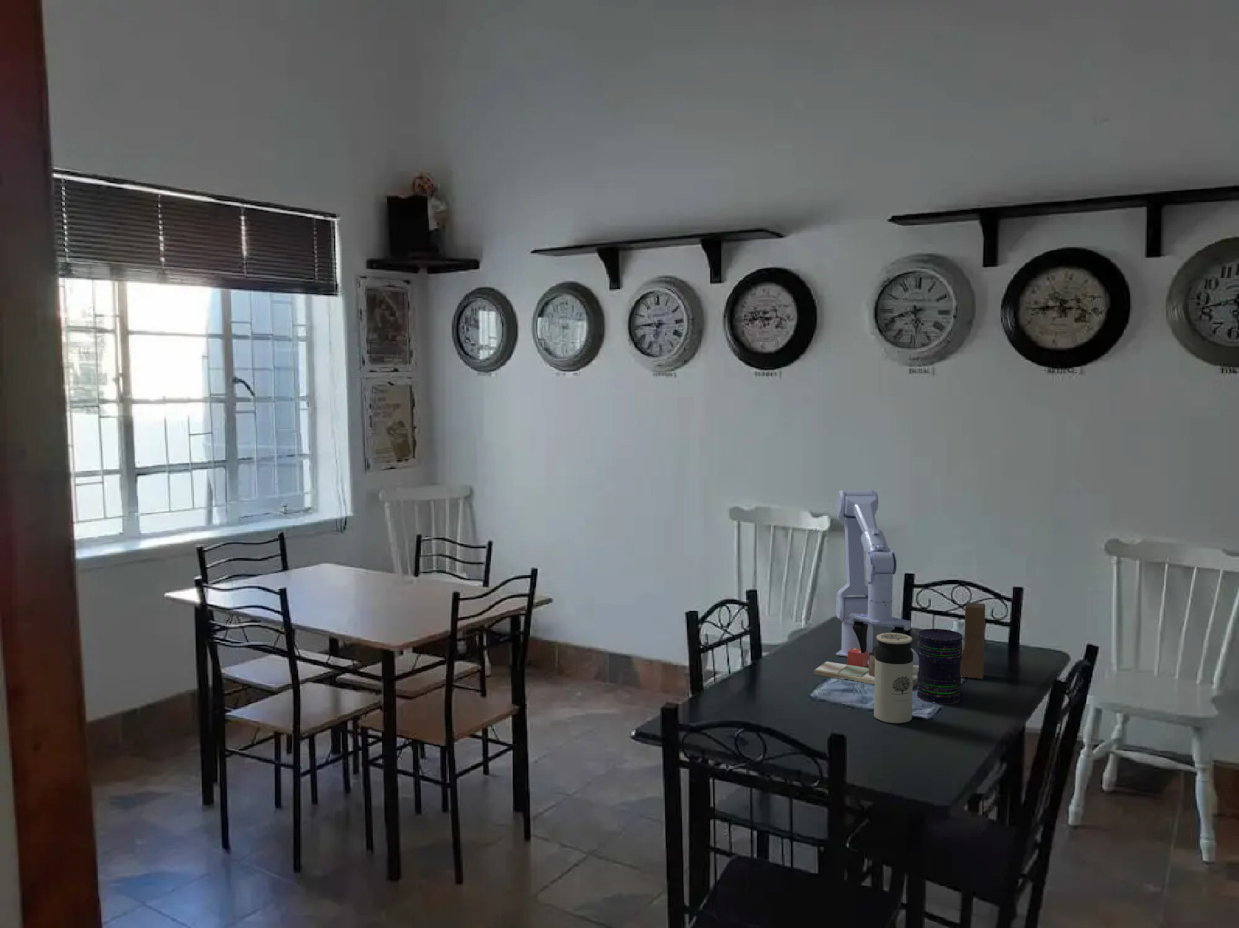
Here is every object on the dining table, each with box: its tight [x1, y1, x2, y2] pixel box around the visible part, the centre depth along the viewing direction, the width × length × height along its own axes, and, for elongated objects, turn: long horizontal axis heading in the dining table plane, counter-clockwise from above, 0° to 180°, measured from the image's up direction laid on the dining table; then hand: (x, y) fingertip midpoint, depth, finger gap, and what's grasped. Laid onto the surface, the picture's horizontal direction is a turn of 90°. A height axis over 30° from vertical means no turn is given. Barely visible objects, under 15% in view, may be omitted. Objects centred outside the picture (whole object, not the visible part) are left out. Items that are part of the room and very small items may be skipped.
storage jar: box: [916, 628, 963, 705], centre depth 229 cm, size 10×10×15 cm
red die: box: [846, 648, 869, 668], centre depth 254 cm, size 4×4×4 cm
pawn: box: [868, 645, 878, 677], centre depth 243 cm, size 4×4×7 cm
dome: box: [910, 647, 919, 666], centre depth 249 cm, size 7×7×5 cm
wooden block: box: [960, 602, 986, 680], centre depth 245 cm, size 9×4×18 cm, turn 68°
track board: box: [813, 661, 918, 689], centre depth 245 cm, size 9×24×1 cm, turn 58°
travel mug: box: [873, 632, 914, 724], centre depth 215 cm, size 8×8×18 cm
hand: (878, 654), depth 243 cm, fingers open, 7 cm apart
